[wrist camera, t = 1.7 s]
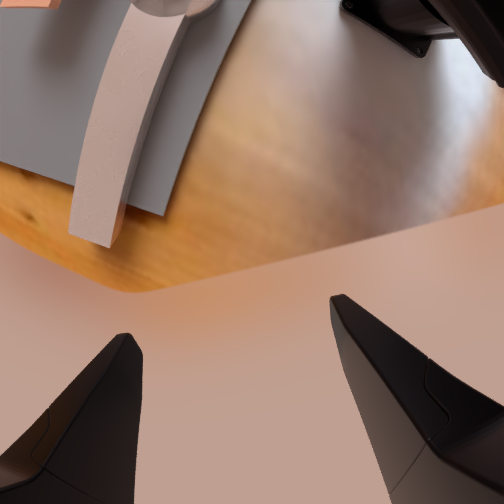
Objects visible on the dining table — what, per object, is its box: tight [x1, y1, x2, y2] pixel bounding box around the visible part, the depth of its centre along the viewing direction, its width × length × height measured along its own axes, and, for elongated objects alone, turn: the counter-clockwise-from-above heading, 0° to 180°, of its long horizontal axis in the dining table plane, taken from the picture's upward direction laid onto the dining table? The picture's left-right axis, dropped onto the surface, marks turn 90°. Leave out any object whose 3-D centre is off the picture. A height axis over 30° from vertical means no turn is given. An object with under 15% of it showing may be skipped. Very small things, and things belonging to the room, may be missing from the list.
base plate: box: [0, 0, 252, 216], centre depth 13 cm, size 21×20×1 cm
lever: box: [68, 0, 221, 248], centre depth 14 cm, size 18×5×3 cm, turn 157°
